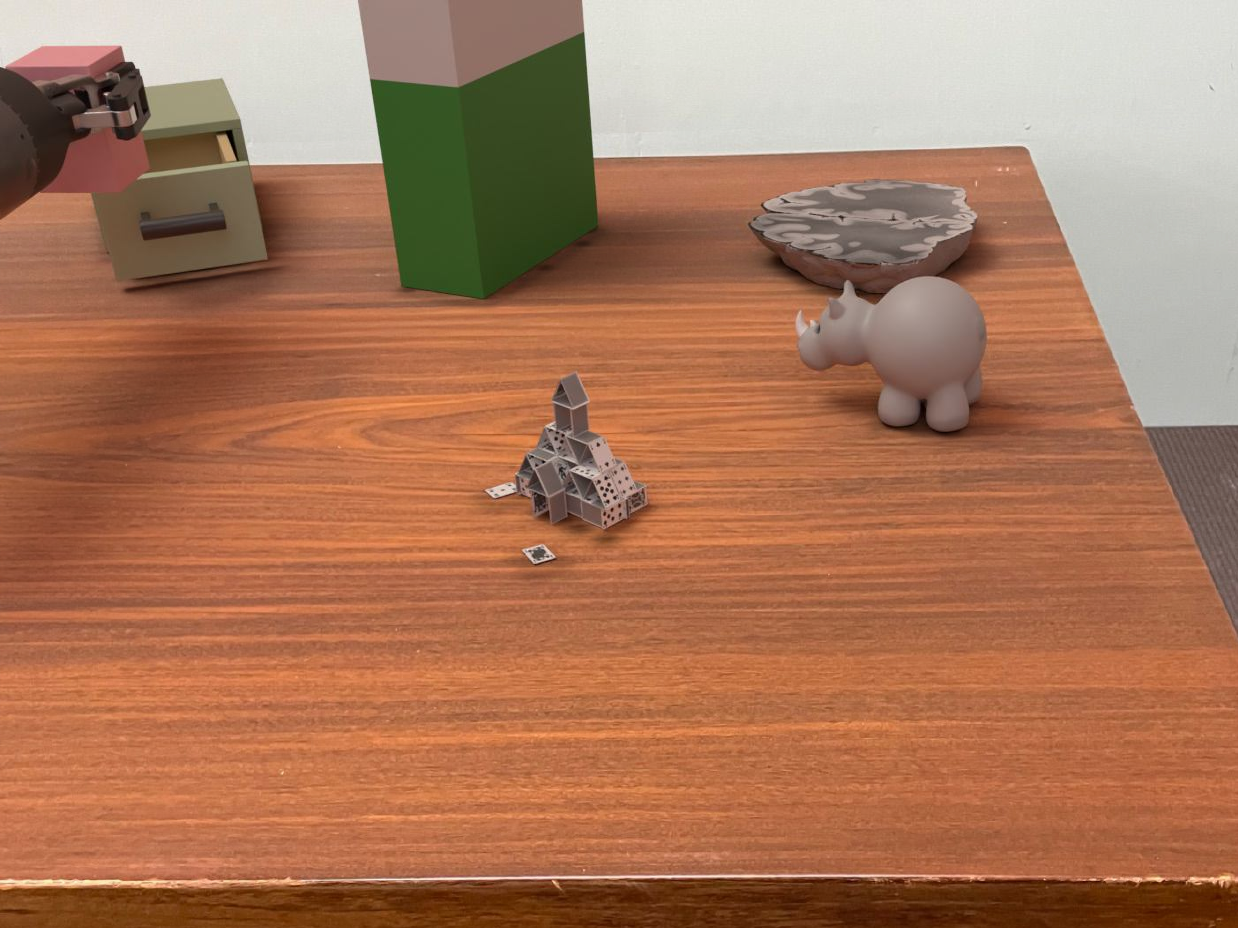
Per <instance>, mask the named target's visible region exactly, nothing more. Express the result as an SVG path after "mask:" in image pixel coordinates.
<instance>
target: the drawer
mask: <svg viewBox="0 0 1238 928" xmlns="http://www.w3.org/2000/svg"><path fill="white" fill-rule="evenodd" d="M144 145H145V149H146V153H147V157H148V162H149V166H150V169H149V170H147V171H146V172H145V173H144V174H142V175H141V176H140V177H139V178H137V179H136V180H135V181H134V182H132V183H131V184H130V185H129V186H127V187H126V188H125V189H124V190H123V191H121V192H120V193H93V194H94V198H95V201H96V205H97V209H98V213H99V216H100V220H101V224H102V228H103V232H104V235H105V239H106V243H107V247H108V251H109V252H108V254H109V258H110V261H111V266H112V269H113V274H114V277H115V280H116V282H122V281H123V282H124V281H130V280H137V279H142V278H150V277H156V276H157V277H158V276H164V275H169V274H176V273H184V272H190V271H192V272H193V271H197V270H198V271H199V270H204V269H211V268H218V267H225V266H232V265H239V264H247V263H252V262H253V263H254V262H259V261H267V260H268V259H269V257H268V251H267V247H266V242H265V238H264V232H263V230H262V228H263V226H262V227H261V224H262V221H261V222H260V219H261V216H260V217H259V214H260V211H259V212H258V209H259V206H258V207H257V204H258V201H257V202H256V199H257V196H256V197H255V194H256V191H255V192H254V189H255V186H254V187H253V184H254V181H253V182H252V179H253V177H252V178H251V174H252V172H251V173H250V169H251V167H250V168H249V164H250V163H249V164H248V162H247V161H240V162H237V160H236V157H235V155H234V152H233V150H232V147H231V145H230V142H229V140H228V137H227V134H226V132H225V131H217V132H209V133H201V134H192V135H184V136H176V137H168V138H160V139H152V140H144Z"/></svg>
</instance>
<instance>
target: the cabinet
mask: <svg viewBox="0 0 1238 928" xmlns="http://www.w3.org/2000/svg"><path fill="white" fill-rule="evenodd" d="M144 87H145V92H146V96H147V101H148V105H149V109H150V114H151V117H150V118H149V119H148V121H147V122H146V124H145V125H144V127H143V128H142V129H141V132H142V136H143V140H152V139H160V138H168V137H176V136H184V135H192V134H201V133H209V132H217V131H225V132H226V134H227V137H228V140H229V142H230V145H231V147H232V150H233V152H234V155H235V157H236V160H237V162H240V161H247V162H248V164H249V168H250V173H251V178H252V182H253V187H254V192H255V197H256V202H257V207H258V212H259V217H260V222H261V227H262V231H263V229H264V228H263V224H262V218H261V214H260V209H259V204H258V199H257V194H256V189H255V185H254V180H253V176H252V170H251V165H250V159H249V155H248V151H247V146H246V140H245V135H244V131H243V126H242V119H241V118H240V115H239V113H238V110H237V108H236V106H235V103H234V101H233V99H232V96H231V95H230V93H229V90H228V87H227V84H226V83H225V80H224V79H223V77H220V78H211V79H203V80H195V81H186V82H185V81H184V82H177V83H176V82H175V83H169V84H158V85H150V86H149V85H148V86H144ZM90 195H91V196H90V197H91V199H92V204H93V207H94V211H95V215H96V218H97V222H98V226H99V229H100V230H99V231H100V234H101V238H102V241H103V244H104V249H105V252H106V253H109V251H108V247H107V243H106V239H105V235H104V232H103V228H102V224H101V220H100V216H99V213H98V209H97V205H96V201H95V198H94V194H93V193H90Z"/></svg>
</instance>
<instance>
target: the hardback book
mask: <svg viewBox="0 0 1238 928" xmlns="http://www.w3.org/2000/svg"><path fill="white" fill-rule="evenodd" d="M357 4H358V11H359V17H360V18H359V19H360V22H361V30H362V36H363V44H364V50H365V56H366V63H367V69H368V75H369V82H370V89H371V95H372V102H373V103H372V104H373V109H374V117H375V121H376V122H375V123H376V129H377V135H378V141H379V148H380V155H381V160H382V167H383V175H384V181H385V182H384V183H385V187H386V194H387V200H388V208H389V215H390V220H391V228H392V234H393V241H394V247H395V253H396V260H397V267H398V272H399V280H400V286H401V287H404V288H412V289H418V290H423V291H430V292H438V293H443V294H450V295H455V296H463V297H469V298H476V299H481V300H484V299H486V298H487V297H489V296H490V295H493V294H494V293H495V292H497V291H498V290H500V289H501V288H503V287H504V286H506V285H508V284H509V283H511V282H513V281H514V280H516V279H517V278H519V277H520V276H522V275H523V274H525V273H527V272H528V271H531V269H533V268H534V267H537V266H538V265H539V264H541V263H543V262H544V261H545V260H547V259H548V258H550V257H551V256H553V255H555V254H556V253H557V252H559V251H561V250H562V249H564V248H567V247H568V246H569V245H570V244H572V243H574V242H576V240H578V239H580V238H582V237H583V236H585V235H586V234H587V233H589V232H591V231H592V230H594V229H595V228H597V227H598V226H599V215H598V199H597V186H596V173H595V158H594V147H593V146H594V145H593V131H592V117H591V104H590V90H589V76H588V75H589V74H588V61H587V49H586V35H585V34H586V33H585V19H584V10H583V9H584V7H583V0H357Z"/></svg>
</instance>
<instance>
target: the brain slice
mask: <svg viewBox="0 0 1238 928" xmlns="http://www.w3.org/2000/svg"><path fill="white" fill-rule="evenodd" d="M966 193H967V190H966V189H965V188H962V187H961V186H955V185H950V184H945V183H939V182H938V183H936V182H925V181H913V180H912V181H910V180H901V179H900V180H899V179H880V178H871V179H866V180H864V181H854V182H852V181H851V182H841V183H840V182H839V183H835V184H830V185H827V186H826V185H825V186H824V185H823V186H814V187H808V188H805V189H801V190H797V191H789V192H785V193H782V194H780V195H777V196H776V197H772V198H769V199H766V200H764V201H762V202H761V204H760V206H761V208H762V209H763V210H764V211H765V212H766V213H762V214H760V215H757V216H754V217H753V219H752V220H751V221H749V222H748V223H747V226H748V228H749V229H750V231H752V233H753V234H754V236H755V237H756V238H757V240H759V242H760V243H761V244H762V245H763V246H764V247H766V248H767V249H768V250H770V251H771V252H773V253H775V254H777V255H779V256H780V258H781V260H782V262H783V263H784V264H785V265H786V266H787V267H789V268H791V269H793V270H795V271H798V272H799V273H800V274H801V275H802V276H803V277H805V278H806V279H807V280H810V281H812V282H813V283H815V284H818V285H821V286H825V287H826V286H827V287H829V288H833V289H842V290H844V283H845V282H846V280H849V281H850V282H851V283H852V285H853V287H854V290H861V292H866V293H869V294H887V293H888V292H889V291H890V290H891V289H893V288H894V287H895V286H897V285H898V284H900V283H902V282H904V281H907V280H909V279H913V278H917V277H924V276H933V277H937V275H940V274H941V273H942V272H944V271H945V270H946V269H947V268H948V267H949V266H950V265H951V264H952V263H953V262H955V261H957V260H958V259H959V258H961V256H963V254H964V253H965V252H966V251H967V250H968V248H969V245H970V242H971V239H972V236H973V234H974V231H975V228H976V225H977V221H978V218H979V214H978V213H977V212H976V211H974V210H973V209H972V208H971V206H969V205H968V204H967V201H968V195H967V194H966Z"/></svg>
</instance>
